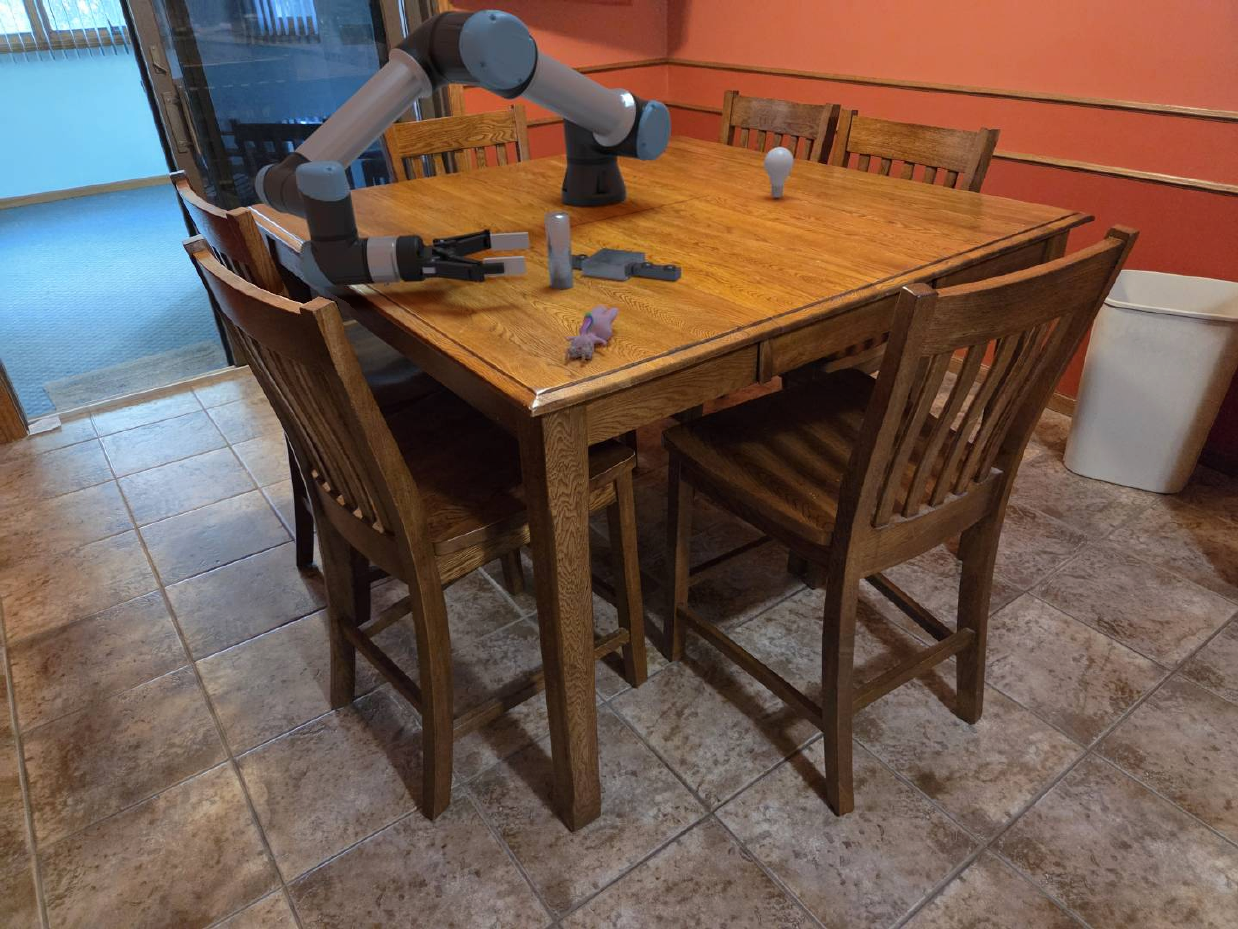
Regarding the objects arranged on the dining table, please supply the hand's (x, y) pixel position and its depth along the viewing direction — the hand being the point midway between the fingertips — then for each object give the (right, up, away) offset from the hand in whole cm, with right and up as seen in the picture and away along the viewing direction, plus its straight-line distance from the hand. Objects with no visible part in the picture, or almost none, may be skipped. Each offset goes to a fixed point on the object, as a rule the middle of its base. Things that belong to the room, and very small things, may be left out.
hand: (527, 252), depth 136 cm
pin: (+6, -5, +4) cm, 8 cm away
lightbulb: (+51, +25, +48) cm, 74 cm away
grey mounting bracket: (+15, -1, +9) cm, 17 cm away
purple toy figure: (+12, -18, -18) cm, 28 cm away
